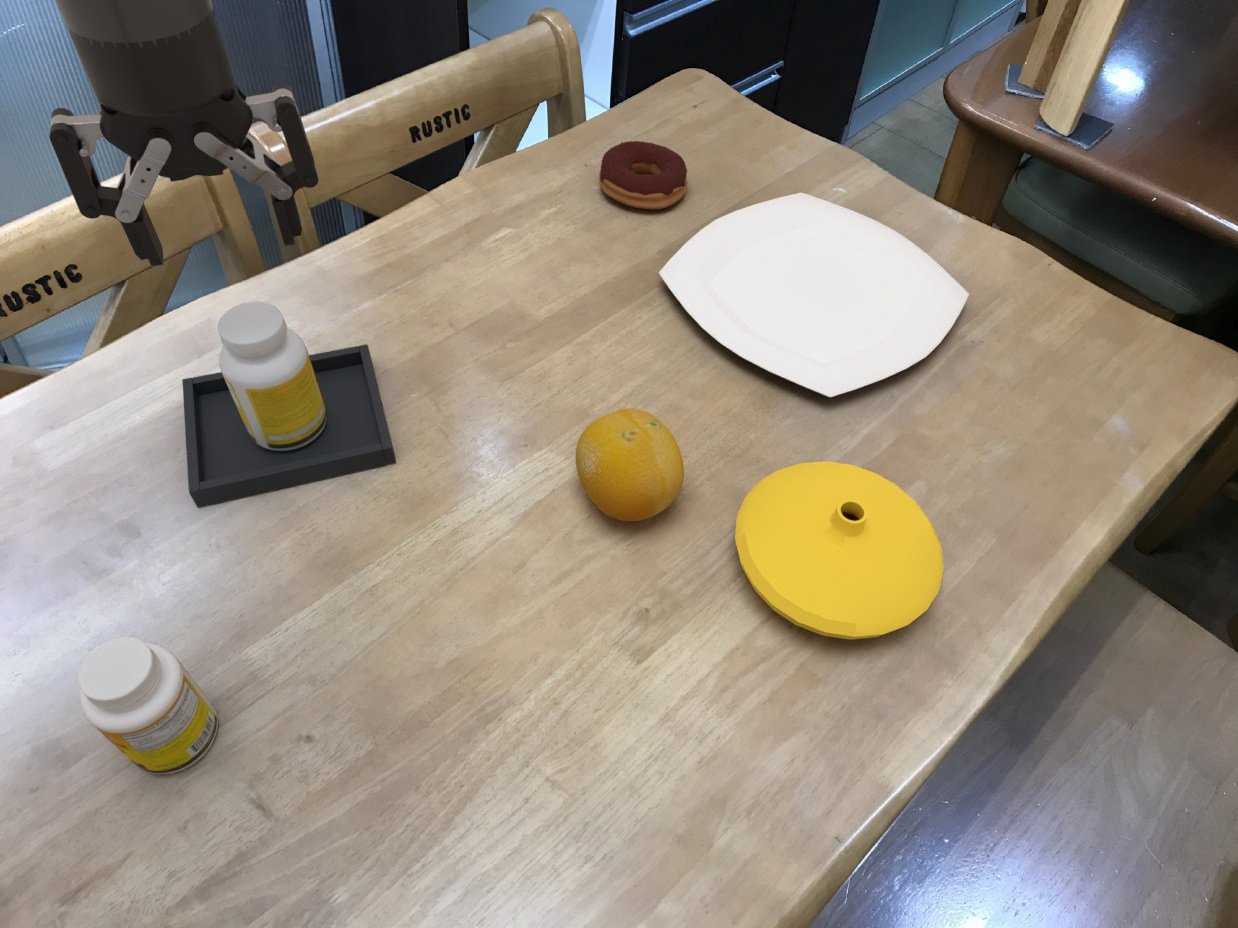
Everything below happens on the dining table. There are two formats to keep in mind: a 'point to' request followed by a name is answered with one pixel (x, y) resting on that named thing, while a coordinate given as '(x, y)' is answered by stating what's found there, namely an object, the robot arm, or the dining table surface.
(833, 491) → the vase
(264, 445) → the pill bottle
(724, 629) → the dining table surface
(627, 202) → the donut
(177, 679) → the supplement bottle
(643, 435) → the fruit
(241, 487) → the holder
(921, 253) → the plate
